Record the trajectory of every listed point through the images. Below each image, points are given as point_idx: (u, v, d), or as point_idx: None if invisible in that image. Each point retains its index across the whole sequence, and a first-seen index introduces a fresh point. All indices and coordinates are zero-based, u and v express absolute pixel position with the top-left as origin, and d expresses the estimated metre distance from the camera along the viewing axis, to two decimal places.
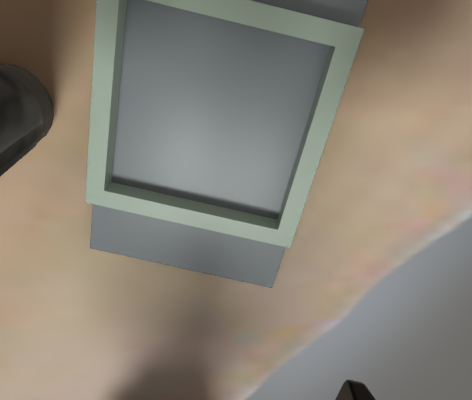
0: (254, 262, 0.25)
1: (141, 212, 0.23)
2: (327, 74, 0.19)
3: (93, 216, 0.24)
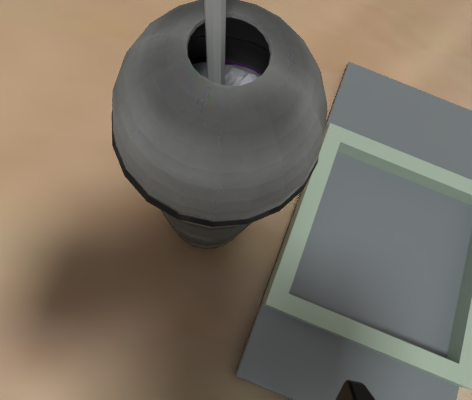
0: None
1: (321, 324, 0.22)
2: None
3: (253, 333, 0.22)
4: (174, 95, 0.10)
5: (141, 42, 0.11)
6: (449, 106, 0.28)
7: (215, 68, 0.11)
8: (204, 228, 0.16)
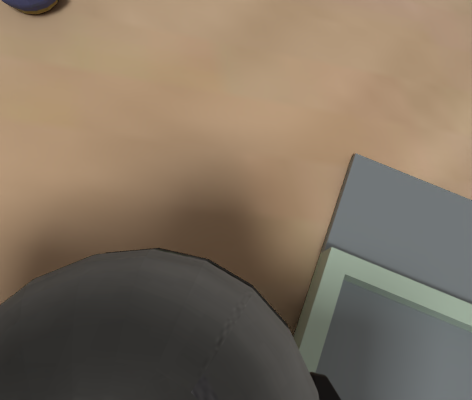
0: None
1: None
2: None
3: None
4: None
5: None
6: None
7: None
8: None
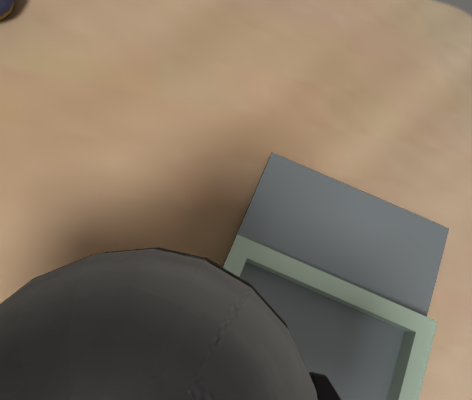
0: None
1: None
2: (410, 354, 0.21)
3: None
4: None
5: None
6: (383, 206, 0.25)
7: None
8: None
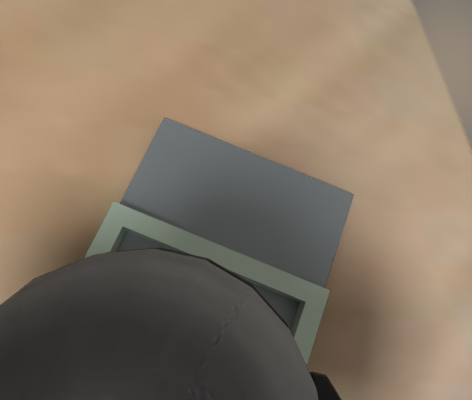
0: None
1: None
2: (298, 326, 0.20)
3: None
4: None
5: None
6: (283, 171, 0.23)
7: None
8: None
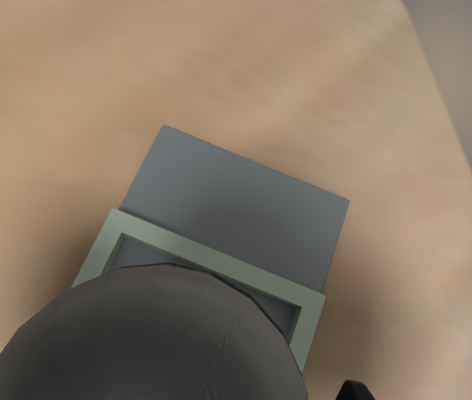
0: None
1: None
2: (294, 331, 0.20)
3: None
4: None
5: None
6: (280, 178, 0.24)
7: None
8: None
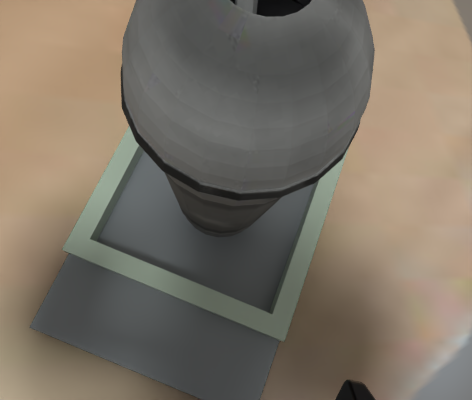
0: (235, 373, 0.20)
1: (122, 270, 0.20)
2: None
3: (55, 282, 0.21)
4: (200, 30, 0.08)
5: None
6: None
7: (245, 7, 0.09)
8: (224, 208, 0.14)
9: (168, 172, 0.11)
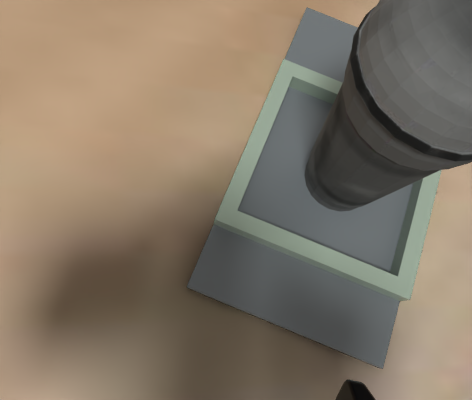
0: (365, 328, 0.23)
1: (267, 238, 0.23)
2: None
3: (204, 248, 0.23)
4: None
5: None
6: None
7: None
8: (403, 175, 0.17)
9: (401, 138, 0.14)
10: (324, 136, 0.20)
